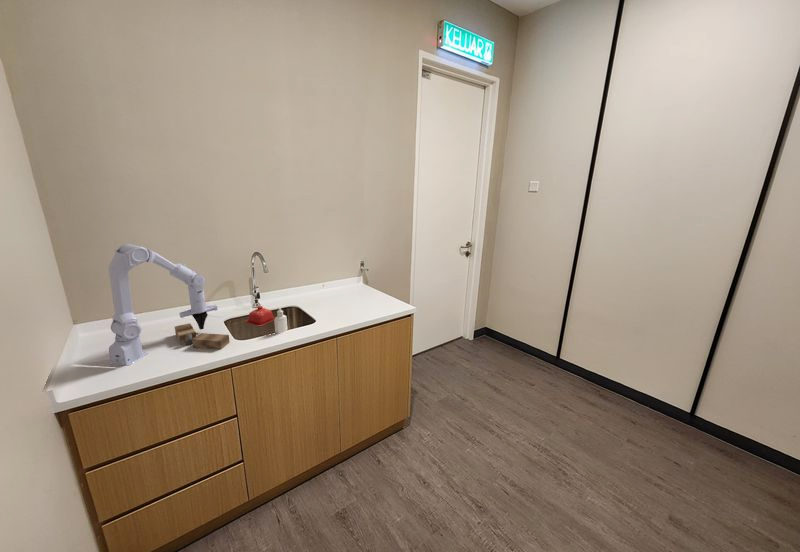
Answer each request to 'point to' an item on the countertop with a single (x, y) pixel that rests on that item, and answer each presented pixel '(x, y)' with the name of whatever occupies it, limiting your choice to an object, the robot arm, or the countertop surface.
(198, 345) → the oblong wooden brick
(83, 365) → the countertop surface
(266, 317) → the butter dish
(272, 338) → the countertop surface
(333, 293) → the countertop surface
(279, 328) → the eye dropper bottle
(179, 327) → the swing leaf
